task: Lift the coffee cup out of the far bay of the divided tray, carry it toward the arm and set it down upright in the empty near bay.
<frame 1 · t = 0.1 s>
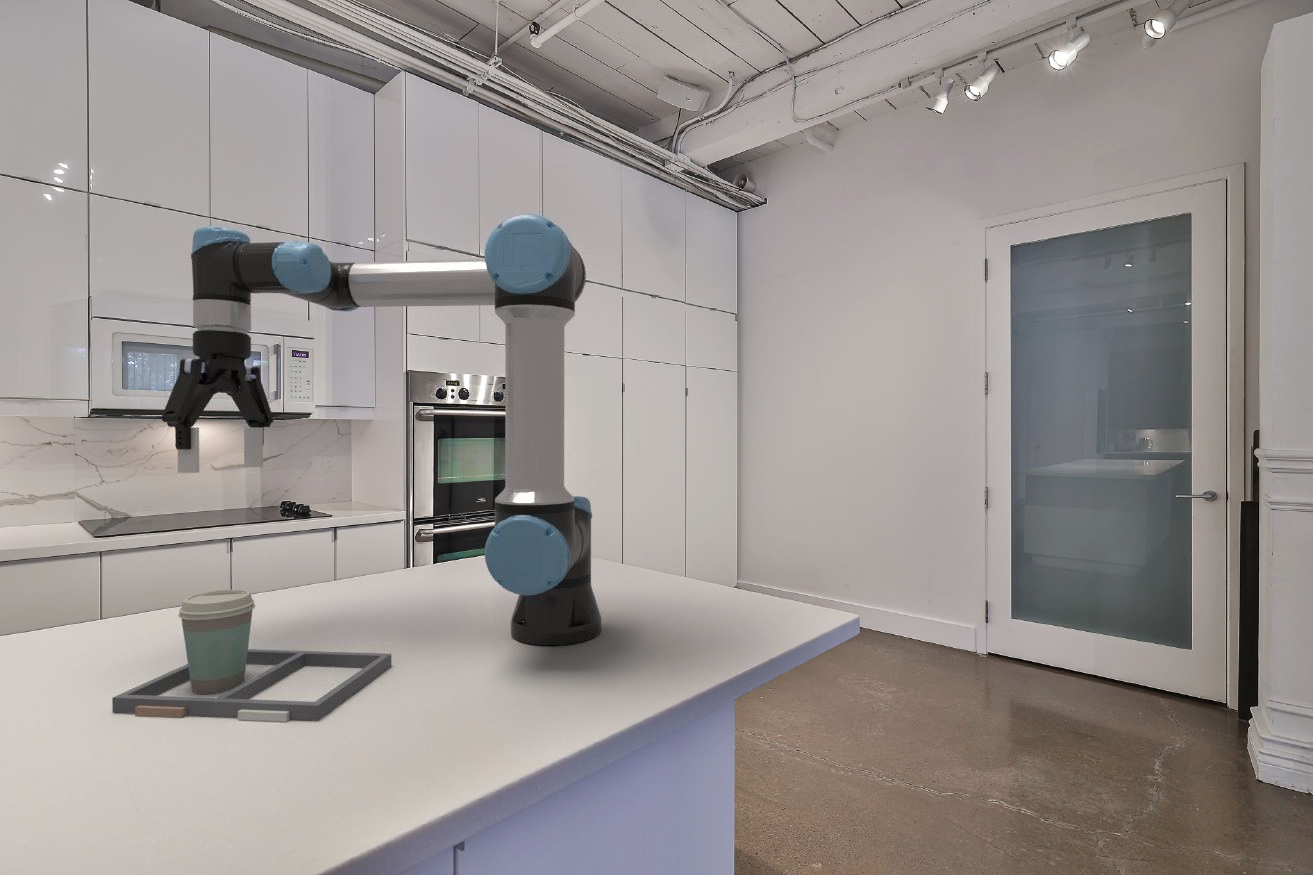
hand: (223, 469, 102), 28 cm above the countertop, fingers open, 13 cm apart
divided tray: (264, 687, 88), on the countertop
coffee cup: (218, 687, 89), resting in divided tray
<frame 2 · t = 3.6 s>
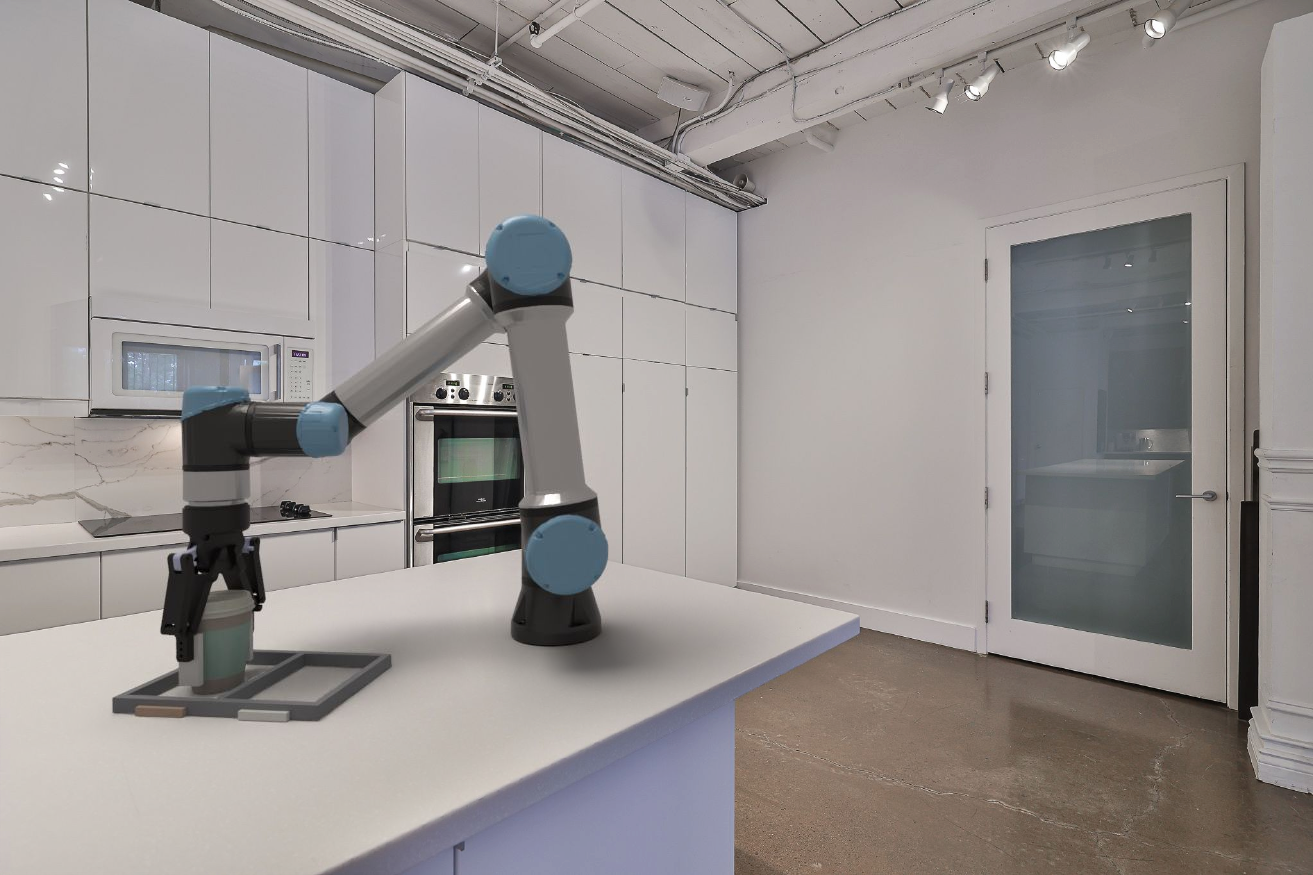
hand: (218, 671, 89), 2 cm above the countertop, fingers closed on coffee cup, 8 cm apart
coffee cup: (218, 687, 89), resting in divided tray, touching gripper
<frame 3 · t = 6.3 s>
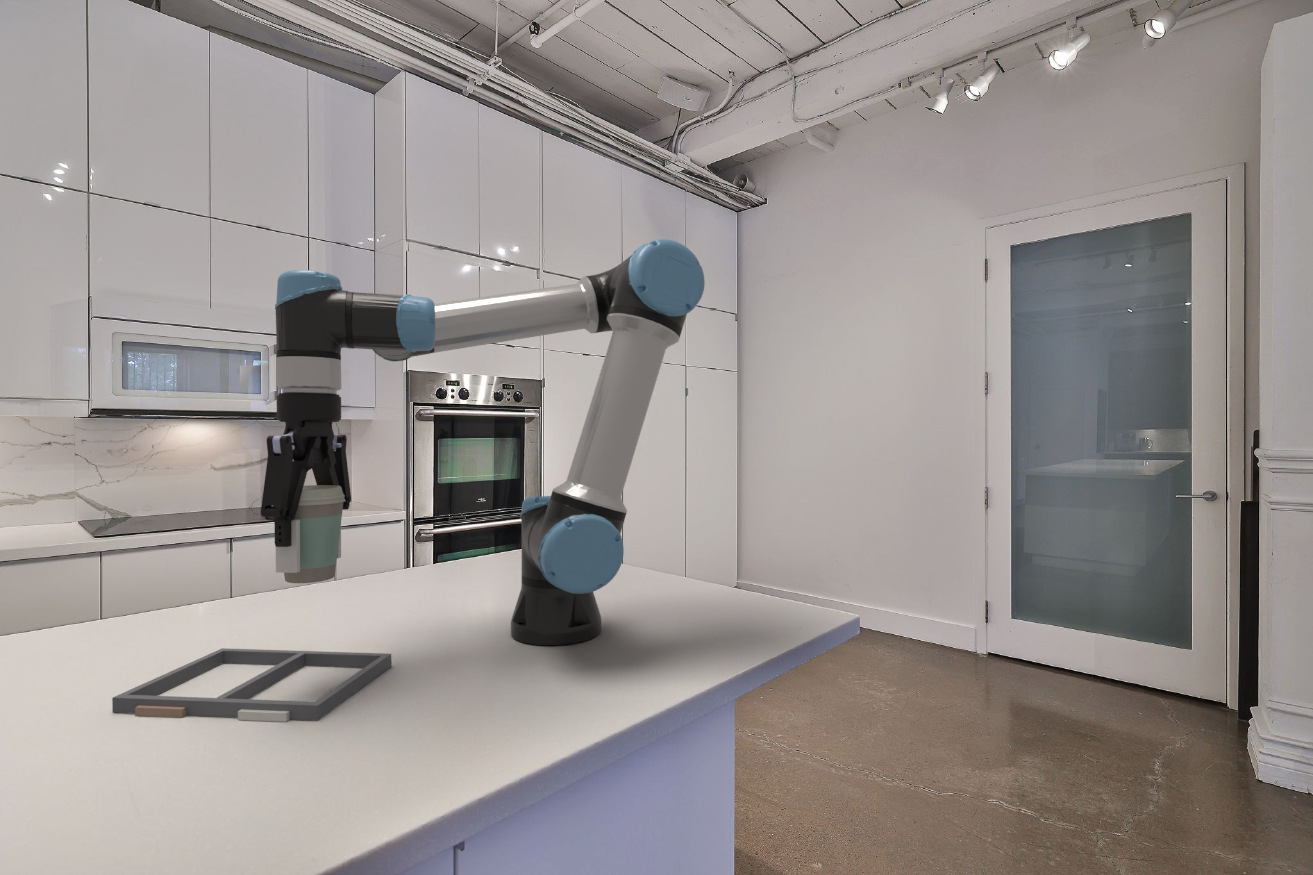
hand: (310, 564, 87), 16 cm above the countertop, fingers closed on coffee cup, 8 cm apart
coffee cup: (310, 579, 87), point 14 cm above the countertop, touching gripper
when the fingers open (3 cm above the countertop, at t = 9.4 s): coffee cup drops 1 cm, resting in divided tray.
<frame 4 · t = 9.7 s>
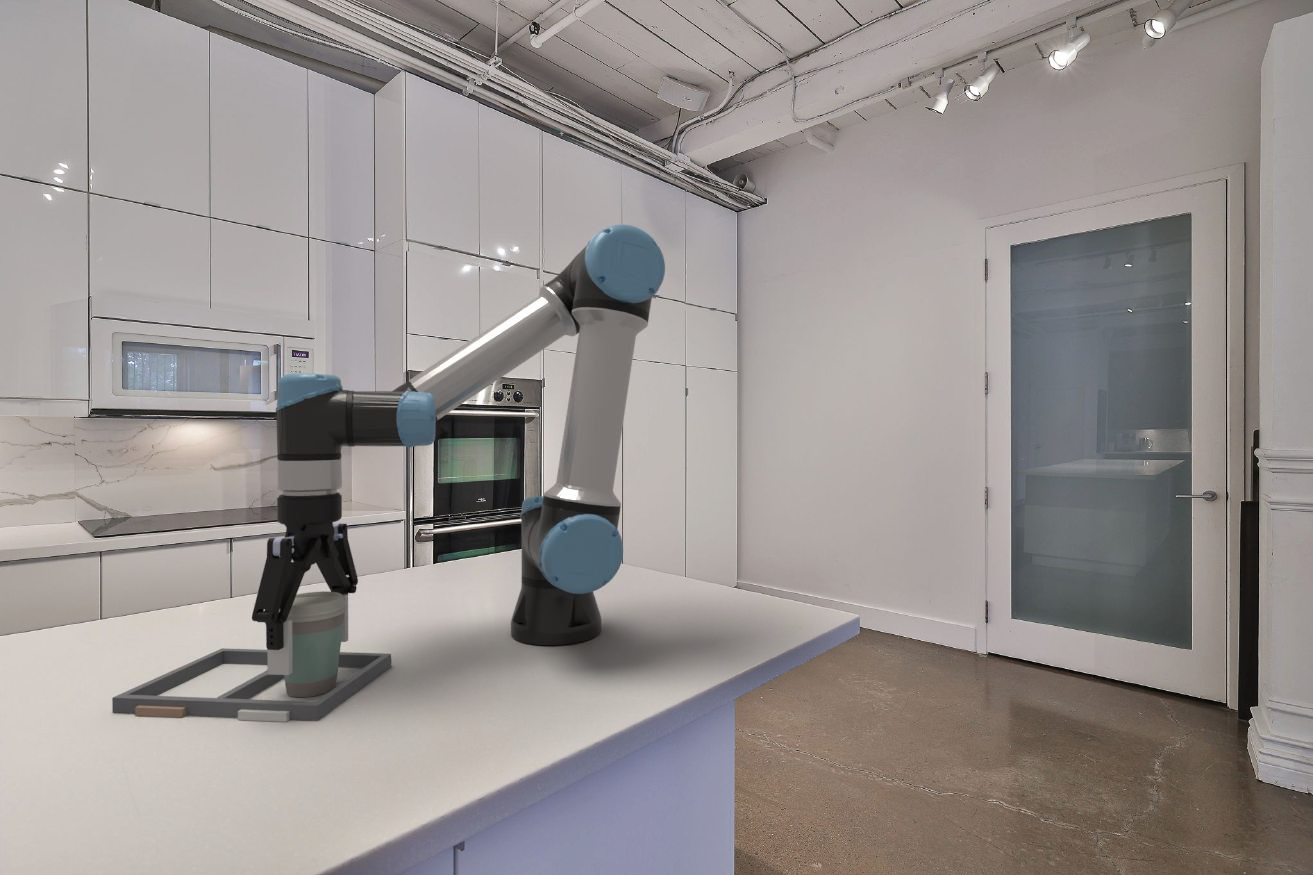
hand: (311, 656, 87), 4 cm above the countertop, fingers open, 12 cm apart
coffee cup: (311, 690, 88), resting in divided tray
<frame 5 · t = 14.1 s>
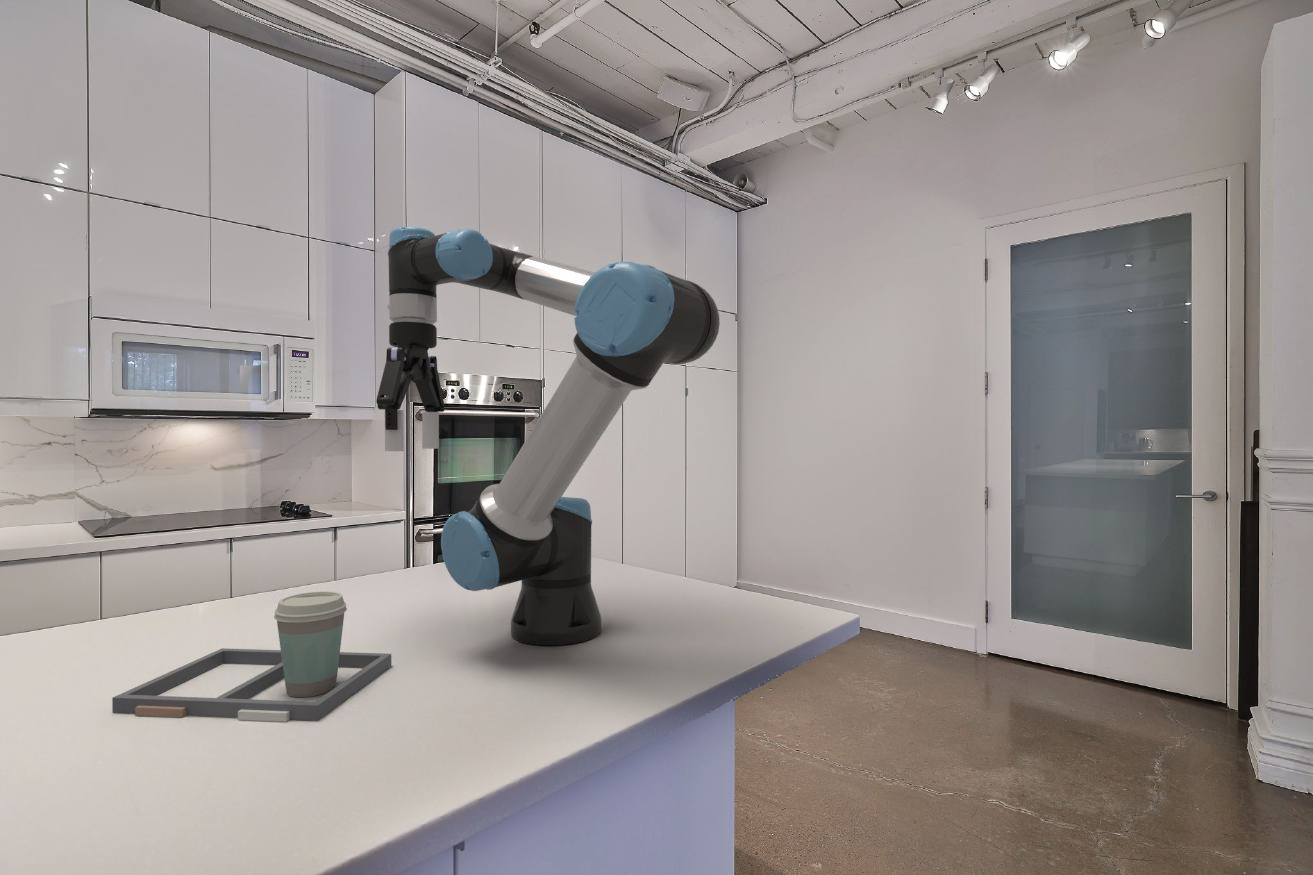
hand: (413, 450, 112), 31 cm above the countertop, fingers open, 13 cm apart
nothing on the countertop moved.
at the end: coffee cup inside the target area on the divided tray (0.1 cm from its centre), point 0.0 cm above the divided tray's base; coffee cup tilted 0°; the gripper is holding nothing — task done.
